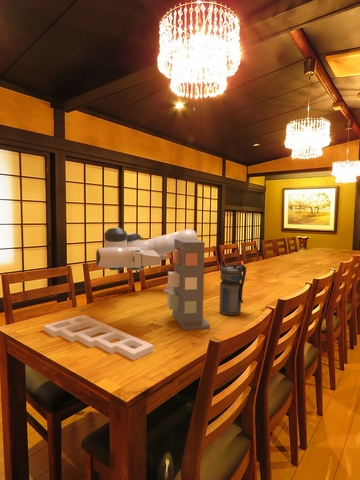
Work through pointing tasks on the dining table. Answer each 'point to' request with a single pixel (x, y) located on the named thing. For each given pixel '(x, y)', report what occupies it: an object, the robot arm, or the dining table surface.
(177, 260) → the top terracotta button
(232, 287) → the beverage bottle
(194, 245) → the button panel
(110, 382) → the dining table surface
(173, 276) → the middle cream button
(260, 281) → the dining table surface
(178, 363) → the dining table surface
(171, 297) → the bottom sage button
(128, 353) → the holder
